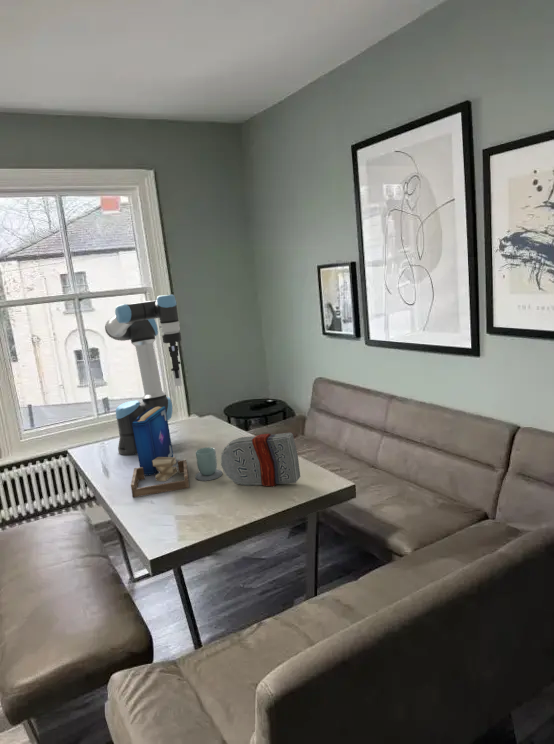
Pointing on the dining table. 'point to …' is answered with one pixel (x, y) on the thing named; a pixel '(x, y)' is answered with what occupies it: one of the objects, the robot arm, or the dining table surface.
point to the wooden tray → (139, 475)
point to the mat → (210, 477)
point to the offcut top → (164, 461)
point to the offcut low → (165, 477)
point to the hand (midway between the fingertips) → (178, 382)
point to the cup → (206, 461)
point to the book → (152, 438)
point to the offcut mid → (164, 470)
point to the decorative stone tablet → (261, 460)
